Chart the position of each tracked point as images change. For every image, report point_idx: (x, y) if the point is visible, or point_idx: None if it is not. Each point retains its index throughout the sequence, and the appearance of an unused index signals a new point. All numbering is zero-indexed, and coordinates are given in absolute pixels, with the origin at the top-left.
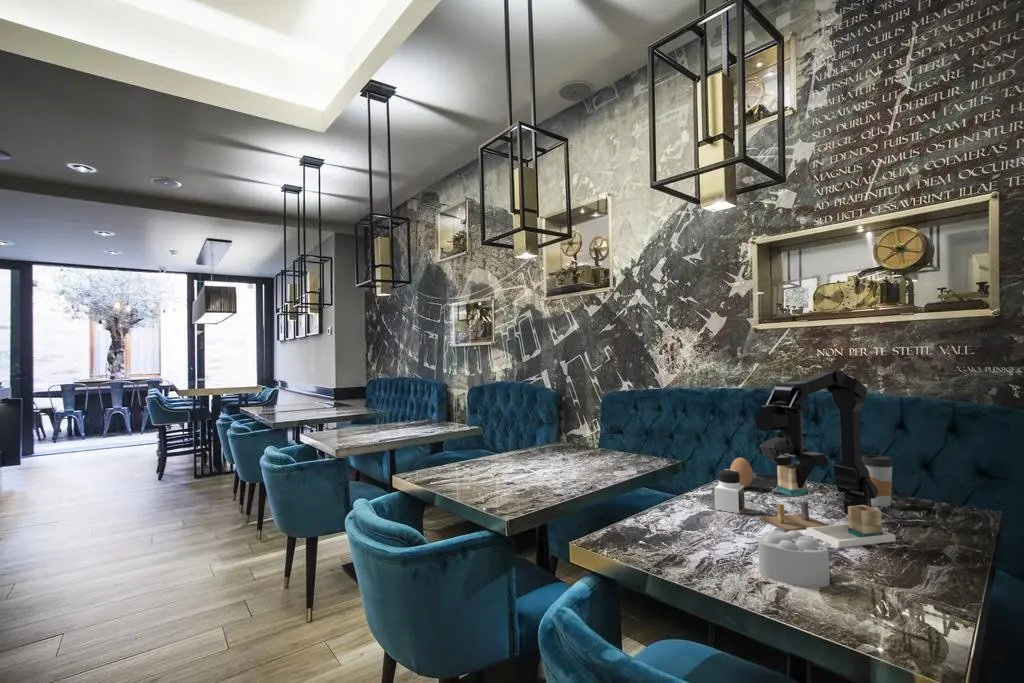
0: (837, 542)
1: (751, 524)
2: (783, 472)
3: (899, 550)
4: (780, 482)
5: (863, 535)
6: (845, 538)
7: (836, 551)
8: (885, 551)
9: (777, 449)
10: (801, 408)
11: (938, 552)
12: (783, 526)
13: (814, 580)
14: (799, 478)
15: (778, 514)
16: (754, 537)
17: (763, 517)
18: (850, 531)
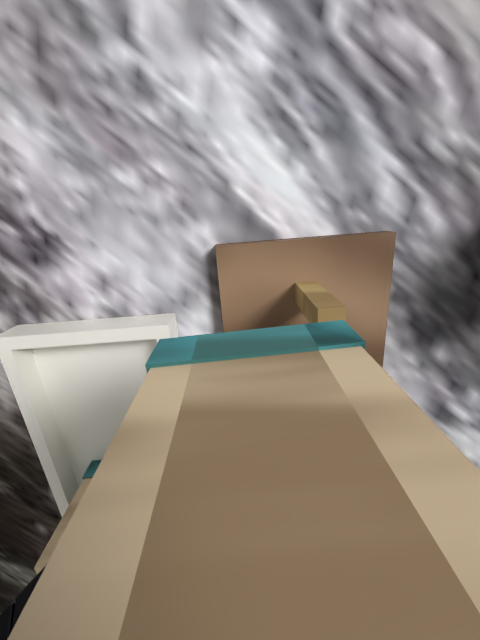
0: (4, 335)
1: (361, 157)
2: (304, 533)
3: (28, 490)
4: (332, 374)
5: (95, 469)
6: (108, 412)
7: (3, 307)
8: (17, 452)
9: None
10: None
11: (19, 557)
12: (253, 266)
13: None
14: (42, 570)
15: (317, 290)
16: (182, 30)
17: (390, 255)
18: None
